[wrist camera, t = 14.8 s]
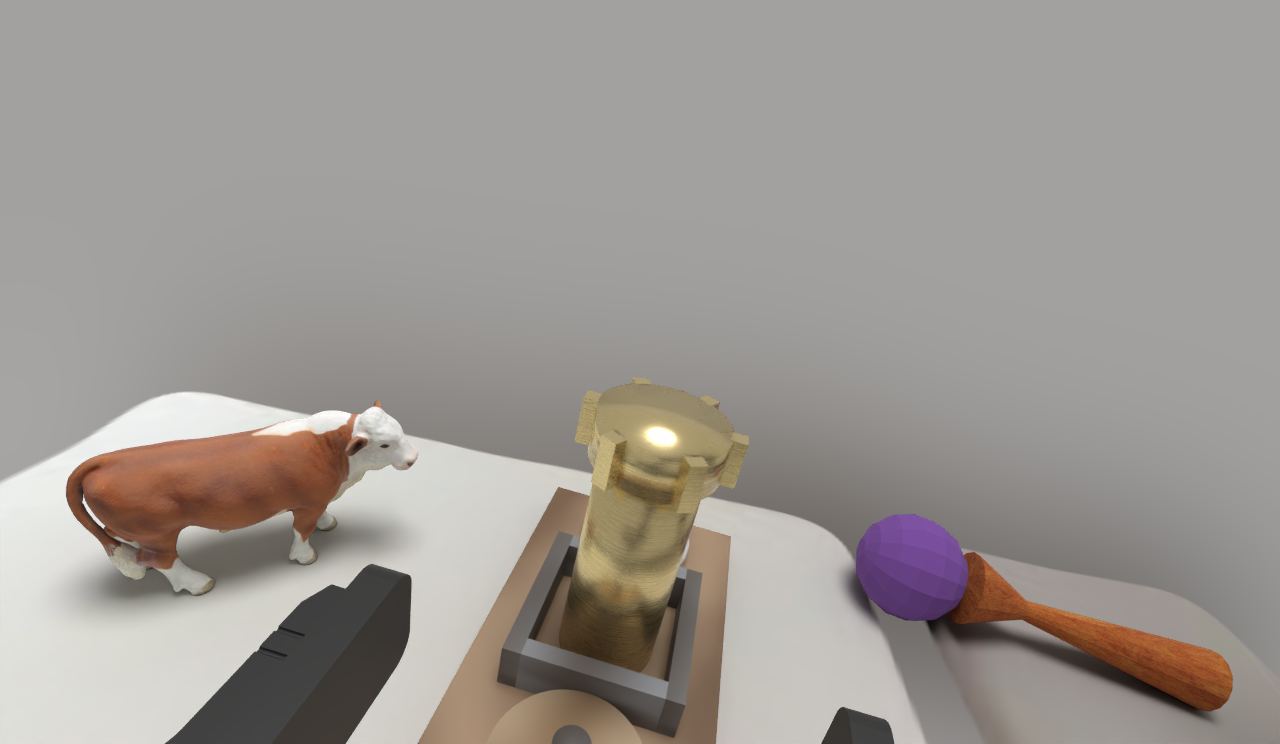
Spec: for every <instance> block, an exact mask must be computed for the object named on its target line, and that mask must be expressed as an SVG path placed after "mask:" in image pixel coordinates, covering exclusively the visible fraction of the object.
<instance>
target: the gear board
mask: <svg viewBox="0 0 1280 744" xmlns="http://www.w3.org/2000/svg"><path fill="white" fill-rule="evenodd" d="M589 498H590V496H588V495H584V494H581V493H577V492H574V491H570V490H567V489H563V488H560V487H558V489H557V491H556V492H555V494H554V496H553V498H552V500H551V502H550V503H549V505H548V507H547V509H546V511H545V512H544V514H543V516H542V518H541V520H540V522H539V523H538V525H537V527H536V529H535V531H534V533H533V534H532V536H531V538H530V540H529V542H528V543H527V545H526V547H525V549H524V551H523V553H522V554H521V556H520V558H519V560H518V562H517V564H516V565H515V567H514V569H513V571H512V573H511V574H510V576H509V578H508V580H507V582H506V584H505V585H504V587H503V589H502V591H501V593H500V594H499V596H498V598H497V600H496V602H495V604H494V605H493V607H492V609H491V611H490V613H489V615H488V616H487V618H486V620H485V622H484V624H483V625H482V627H481V629H480V631H479V633H478V635H477V636H476V638H475V640H474V642H473V644H472V646H471V647H470V649H469V651H468V653H467V655H466V656H465V658H464V660H463V662H462V664H461V666H460V667H459V669H458V671H457V673H456V675H455V676H454V678H453V680H452V682H451V684H450V686H449V687H448V689H447V691H446V693H445V695H444V697H443V698H442V700H441V702H440V704H439V706H438V707H437V709H436V711H435V713H434V715H433V717H432V718H431V720H430V722H429V724H428V726H427V728H426V729H425V731H424V733H423V735H422V737H421V738H420V740H419V742H418V744H716V732H717V719H718V705H719V691H720V678H721V664H722V650H723V637H724V623H725V609H726V595H727V582H728V568H729V554H730V541H731V536H727V535H724V534H720V533H717V532H713V531H710V530H706V529H703V528H699V527H696V526H692V529H691V532H690V535H689V538H688V542H687V545H686V548H685V551H684V554H683V557H682V560H681V564H680V567H679V570H678V573H677V576H676V579H675V582H674V586H673V589H672V592H671V595H670V598H669V601H668V604H667V608H666V611H665V614H664V617H663V620H662V623H661V626H660V630H659V633H658V636H657V639H656V642H655V645H654V648H653V651H652V655H651V658H650V660H649V662H648V664H647V665H646V667H645V668H644V669H643V670H642V671H641V672H639V673H638V672H635V671H632V670H629V669H625V668H622V667H619V666H616V665H612V664H609V663H606V662H603V661H599V660H596V659H593V658H590V657H587V656H583V655H580V654H577V653H574V652H570V651H567V650H564V649H561V646H560V641H559V631H560V626H561V622H562V617H563V613H564V608H565V604H566V599H567V595H568V591H569V586H570V582H571V577H572V573H573V568H574V564H575V560H576V555H577V551H578V546H579V542H580V537H581V533H582V529H583V524H584V520H585V515H586V511H587V506H588V502H589Z"/></svg>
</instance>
